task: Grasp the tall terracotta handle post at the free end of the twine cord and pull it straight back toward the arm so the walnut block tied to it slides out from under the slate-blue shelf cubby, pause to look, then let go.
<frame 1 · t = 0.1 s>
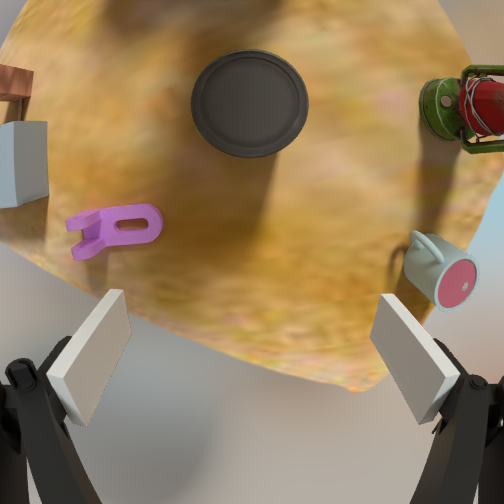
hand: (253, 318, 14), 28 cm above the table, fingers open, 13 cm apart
shelf cubby: (20, 162, 36), on the table
bracket: (123, 223, 41), on the table
tethered block: (20, 165, 36), on the table
coffee can: (247, 117, 37), on the table
mug: (418, 250, 44), on the table
lantern: (443, 109, 36), on the table
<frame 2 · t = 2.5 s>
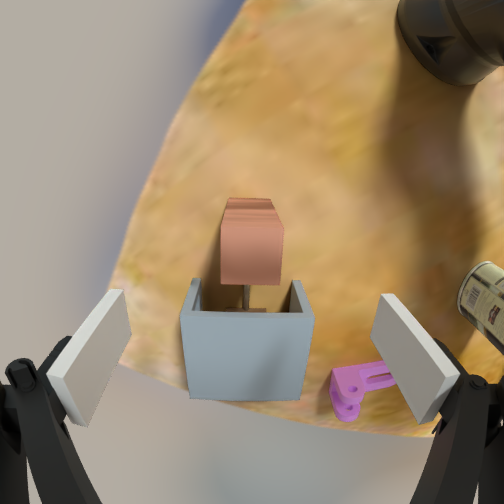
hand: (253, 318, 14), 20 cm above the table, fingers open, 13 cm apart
shelf cubby: (245, 321, 38), on the table
bracket: (367, 373, 43), on the table
tethered block: (245, 324, 38), on the table
coffee can: (477, 288, 38), on the table
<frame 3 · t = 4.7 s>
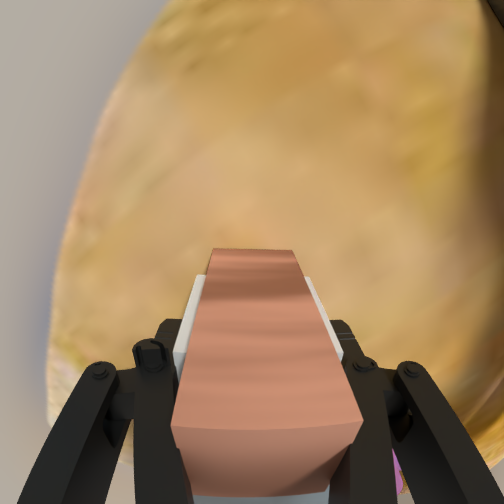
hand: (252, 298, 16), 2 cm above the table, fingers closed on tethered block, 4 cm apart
shelf cubby: (246, 423, 22), on the table
tethered block: (246, 426, 23), on the table, touching gripper
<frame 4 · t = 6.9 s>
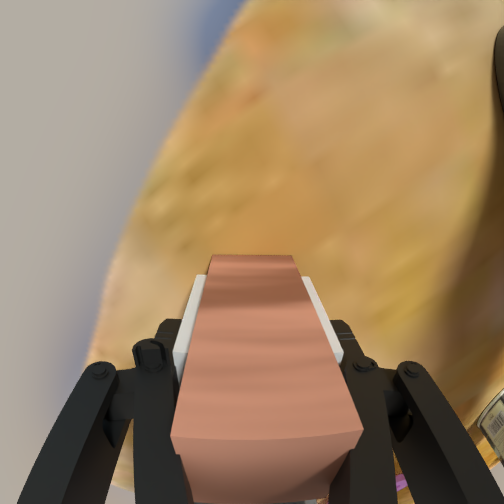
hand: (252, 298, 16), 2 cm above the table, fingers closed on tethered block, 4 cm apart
bracket: (370, 487, 31), on the table
tethered block: (247, 431, 22), on the table, touching gripper
coffee can: (502, 401, 27), on the table
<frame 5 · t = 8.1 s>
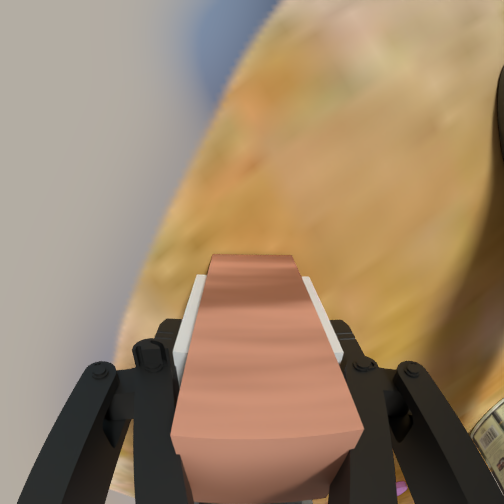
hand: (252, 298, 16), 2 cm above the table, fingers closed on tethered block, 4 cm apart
bracket: (368, 494, 32), on the table
tethered block: (247, 431, 22), on the table, touching gripper
coffee can: (495, 414, 28), on the table
when the fingers open (2 cm above the table, at t = 8.9 s): tethered block stays where it is, on the table.
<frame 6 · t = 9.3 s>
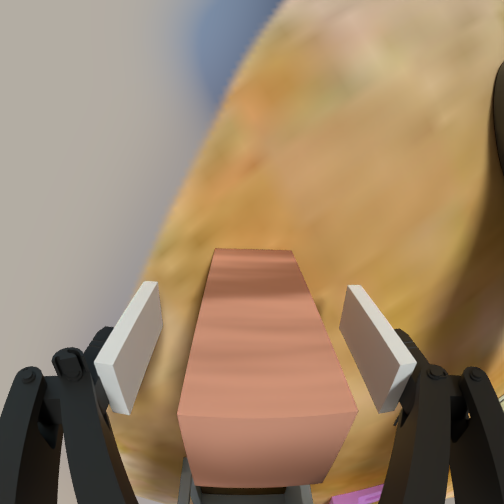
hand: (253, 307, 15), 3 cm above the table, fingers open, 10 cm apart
shelf cubby: (243, 481, 28), on the table
bracket: (367, 491, 33), on the table
tethered block: (245, 423, 23), on the table
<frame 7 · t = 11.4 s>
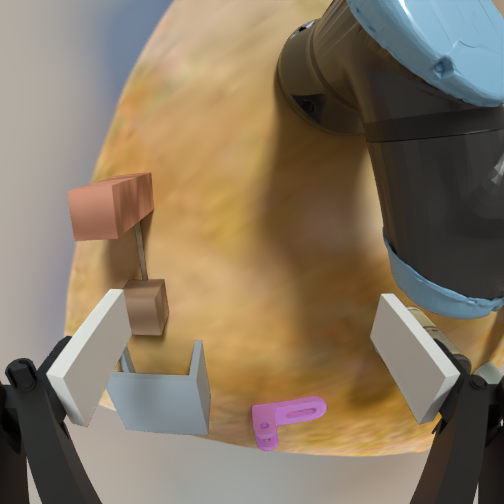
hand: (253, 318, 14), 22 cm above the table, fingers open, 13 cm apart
shelf cubby: (166, 370, 43), on the table
bracket: (289, 408, 48), on the table
tethered block: (149, 296, 38), on the table
coffee can: (400, 332, 43), on the table
mug: (477, 373, 50), on the table
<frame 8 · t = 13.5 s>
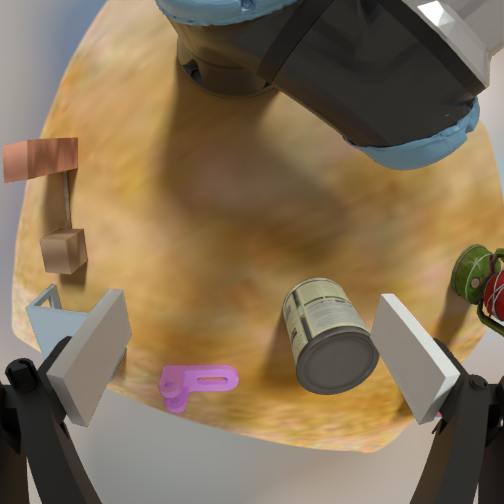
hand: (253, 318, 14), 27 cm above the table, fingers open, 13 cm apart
shelf cubby: (87, 317, 45), on the table
bracket: (202, 375, 50), on the table
tethered block: (72, 244, 40), on the table
coffee can: (315, 305, 45), on the table
lantern: (470, 270, 44), on the table
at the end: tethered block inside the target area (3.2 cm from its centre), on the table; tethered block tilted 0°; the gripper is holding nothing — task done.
